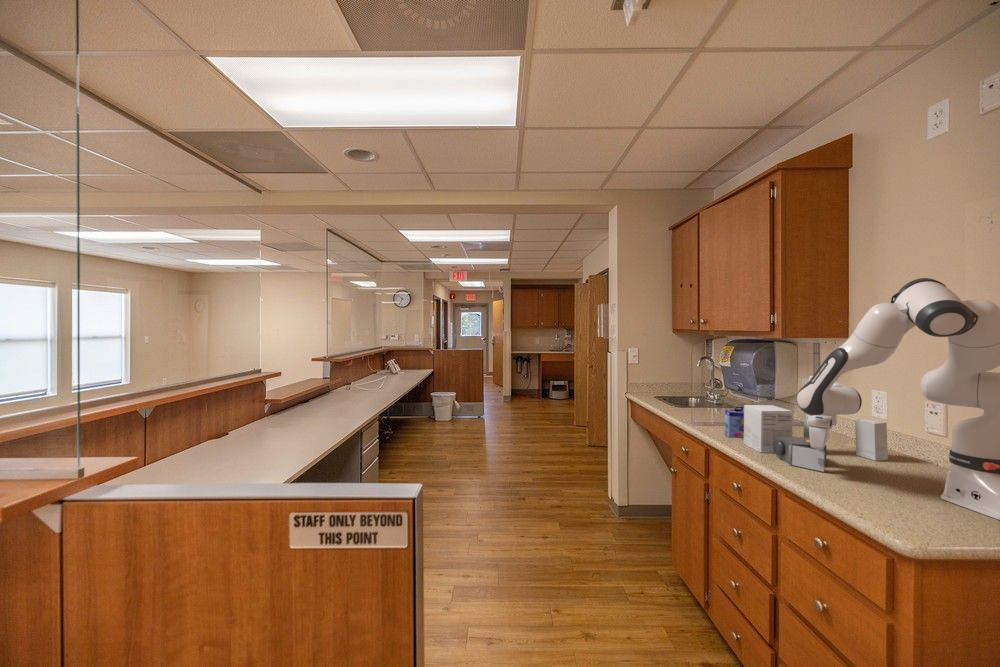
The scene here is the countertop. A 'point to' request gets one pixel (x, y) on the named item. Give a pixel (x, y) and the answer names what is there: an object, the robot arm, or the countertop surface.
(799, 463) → the side door
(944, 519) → the countertop surface
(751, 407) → the supplement box
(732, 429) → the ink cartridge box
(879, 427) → the skincare box
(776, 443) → the camera housing
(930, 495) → the countertop surface
